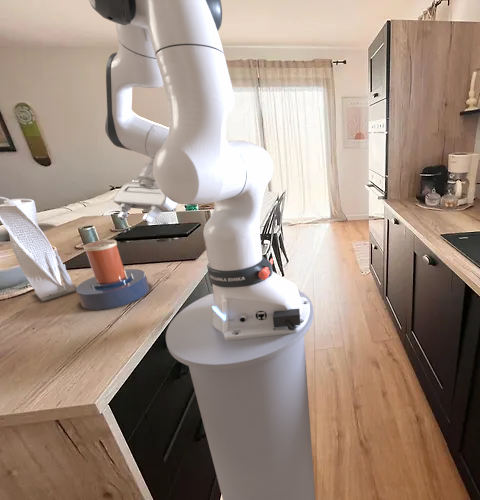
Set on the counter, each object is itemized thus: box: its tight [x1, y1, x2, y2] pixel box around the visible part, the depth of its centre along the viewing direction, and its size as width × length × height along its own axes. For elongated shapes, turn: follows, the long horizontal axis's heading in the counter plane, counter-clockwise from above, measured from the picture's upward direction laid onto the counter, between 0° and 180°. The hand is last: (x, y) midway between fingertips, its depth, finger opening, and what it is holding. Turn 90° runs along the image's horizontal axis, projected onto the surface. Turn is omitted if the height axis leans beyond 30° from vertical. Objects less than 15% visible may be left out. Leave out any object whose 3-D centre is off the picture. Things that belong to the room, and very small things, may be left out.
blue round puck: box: [75, 268, 150, 311], centre depth 79 cm, size 15×15×5 cm
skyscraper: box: [0, 196, 76, 303], centre depth 76 cm, size 8×8×28 cm
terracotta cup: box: [82, 239, 126, 284], centre depth 76 cm, size 7×7×10 cm
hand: (133, 220), depth 82 cm, fingers open, 8 cm apart
